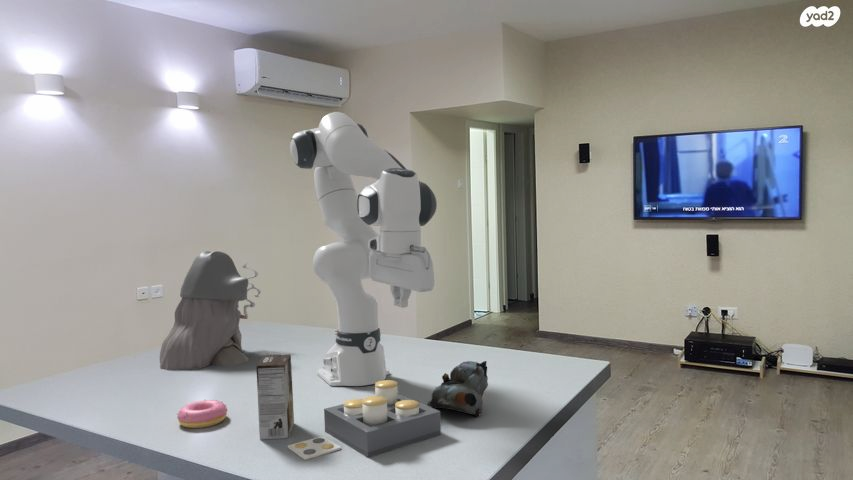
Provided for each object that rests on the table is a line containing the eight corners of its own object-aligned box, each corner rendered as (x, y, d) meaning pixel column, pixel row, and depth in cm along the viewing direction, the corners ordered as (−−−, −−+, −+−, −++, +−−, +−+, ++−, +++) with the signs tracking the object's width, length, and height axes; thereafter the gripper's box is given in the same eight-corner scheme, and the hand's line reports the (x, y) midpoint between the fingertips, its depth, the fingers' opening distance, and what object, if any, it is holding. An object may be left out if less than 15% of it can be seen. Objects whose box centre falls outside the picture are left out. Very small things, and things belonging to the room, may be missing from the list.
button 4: (391, 426, 131) (390, 403, 131) (410, 420, 134) (409, 398, 134) (404, 432, 127) (404, 409, 127) (424, 427, 130) (423, 404, 130)
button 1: (340, 425, 133) (339, 402, 133) (360, 419, 136) (359, 397, 136) (351, 431, 129) (351, 408, 129) (372, 425, 132) (371, 403, 132)
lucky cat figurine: (422, 405, 149) (439, 350, 153) (467, 421, 150) (484, 366, 154) (436, 406, 134) (455, 346, 139) (486, 424, 136) (503, 364, 140)
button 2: (358, 423, 127) (357, 399, 126) (379, 417, 129) (378, 394, 129) (371, 430, 123) (370, 405, 122) (392, 424, 125) (391, 400, 125)
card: (287, 447, 125) (287, 444, 125) (323, 437, 130) (322, 435, 130) (304, 460, 119) (304, 457, 119) (341, 449, 124) (341, 446, 124)
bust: (283, 350, 209) (278, 248, 207) (199, 376, 180) (193, 258, 178) (216, 341, 227) (212, 247, 225) (131, 363, 198) (124, 255, 196)
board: (324, 431, 134) (324, 408, 133) (393, 412, 144) (393, 391, 144) (367, 457, 119) (366, 432, 119) (440, 434, 130) (440, 411, 130)
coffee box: (266, 424, 139) (262, 354, 138) (294, 423, 139) (291, 353, 138) (258, 440, 130) (254, 365, 129) (289, 438, 130) (286, 363, 129)
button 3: (371, 405, 138) (370, 383, 137) (390, 400, 141) (389, 378, 140) (383, 410, 134) (382, 388, 133) (402, 405, 137) (401, 383, 136)
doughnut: (227, 426, 139) (226, 408, 138) (175, 433, 136) (174, 415, 135) (228, 411, 149) (227, 394, 149) (179, 417, 146) (178, 400, 146)
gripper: (441, 246, 127) (441, 312, 128) (387, 239, 143) (387, 297, 144) (416, 248, 123) (417, 316, 124) (364, 240, 139) (364, 301, 141)
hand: (400, 306), depth 134 cm, fingers closed
